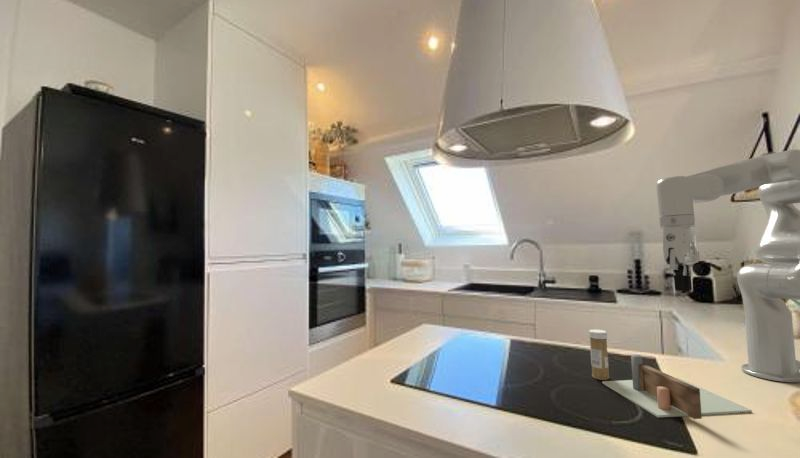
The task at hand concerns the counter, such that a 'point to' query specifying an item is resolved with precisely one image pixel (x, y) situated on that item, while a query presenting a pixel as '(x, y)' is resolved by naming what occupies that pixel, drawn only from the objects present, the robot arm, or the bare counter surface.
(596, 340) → the sprinkles bottle
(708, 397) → the gate frame
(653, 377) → the gate
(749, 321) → the robot arm
